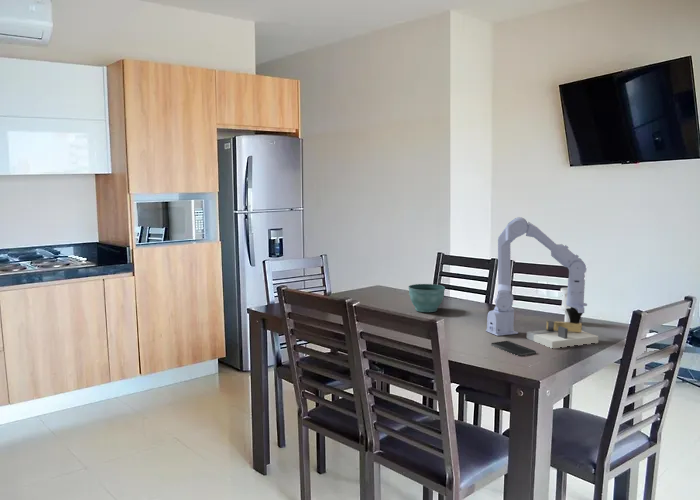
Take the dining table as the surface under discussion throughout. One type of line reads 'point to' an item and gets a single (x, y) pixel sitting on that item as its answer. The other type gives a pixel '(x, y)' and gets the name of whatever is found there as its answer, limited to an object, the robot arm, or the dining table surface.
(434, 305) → the flower pot
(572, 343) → the white panel
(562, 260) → the robot arm
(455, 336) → the dining table surface
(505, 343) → the phone
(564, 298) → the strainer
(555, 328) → the bar
